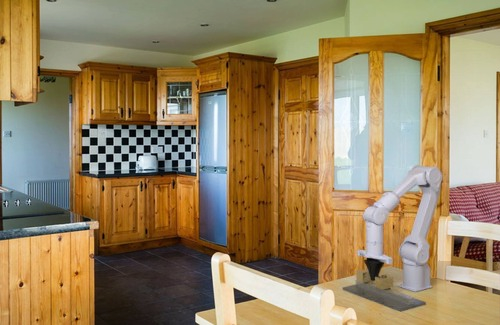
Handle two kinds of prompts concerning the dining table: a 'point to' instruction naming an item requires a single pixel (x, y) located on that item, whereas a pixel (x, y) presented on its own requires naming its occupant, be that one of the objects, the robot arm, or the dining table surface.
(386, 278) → the tan holed block
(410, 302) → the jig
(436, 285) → the dining table surface
